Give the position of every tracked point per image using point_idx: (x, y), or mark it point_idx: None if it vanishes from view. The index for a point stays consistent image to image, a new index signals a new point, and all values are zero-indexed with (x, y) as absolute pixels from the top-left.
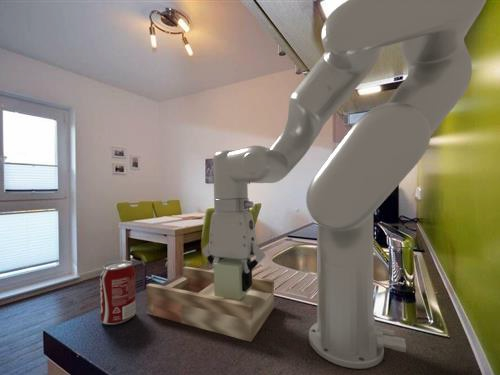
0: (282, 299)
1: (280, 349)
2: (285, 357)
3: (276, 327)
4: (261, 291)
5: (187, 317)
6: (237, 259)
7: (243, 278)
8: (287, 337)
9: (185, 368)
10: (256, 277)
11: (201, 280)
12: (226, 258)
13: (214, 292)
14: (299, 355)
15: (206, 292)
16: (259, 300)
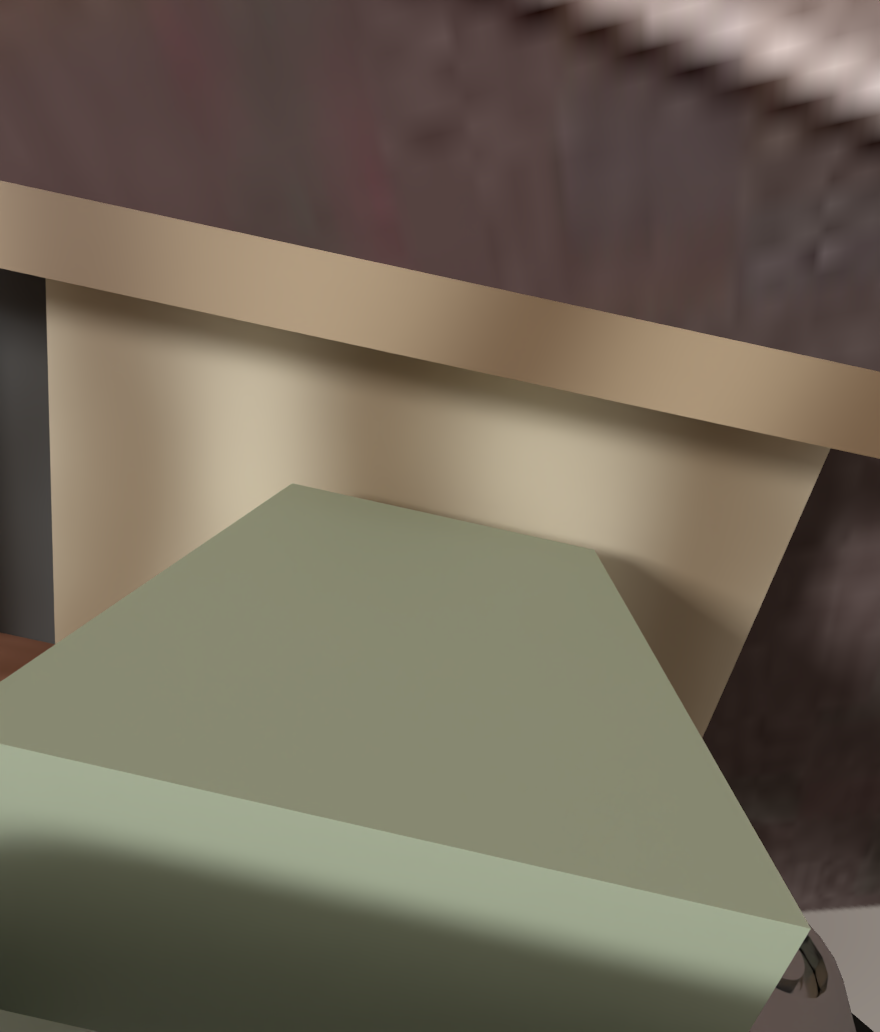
0: (855, 181)
1: (758, 812)
2: (777, 854)
3: (750, 644)
4: (698, 438)
5: None
6: (402, 994)
7: None
8: (811, 725)
9: None
10: (679, 332)
11: None
12: (43, 923)
13: (197, 547)
14: (851, 837)
15: (122, 561)
16: (682, 637)
